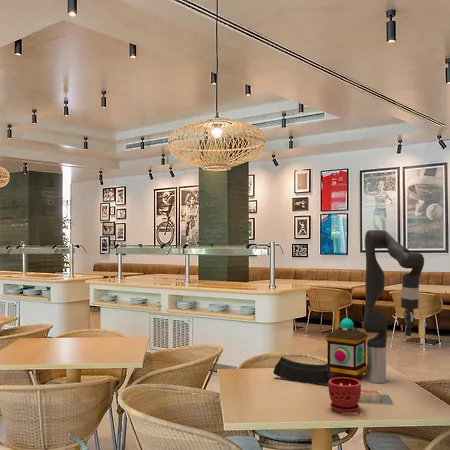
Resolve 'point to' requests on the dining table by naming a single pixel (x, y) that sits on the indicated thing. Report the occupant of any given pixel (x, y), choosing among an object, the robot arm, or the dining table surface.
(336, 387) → the plant pot
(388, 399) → the mat
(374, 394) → the slab
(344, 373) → the decorative lantern
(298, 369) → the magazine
